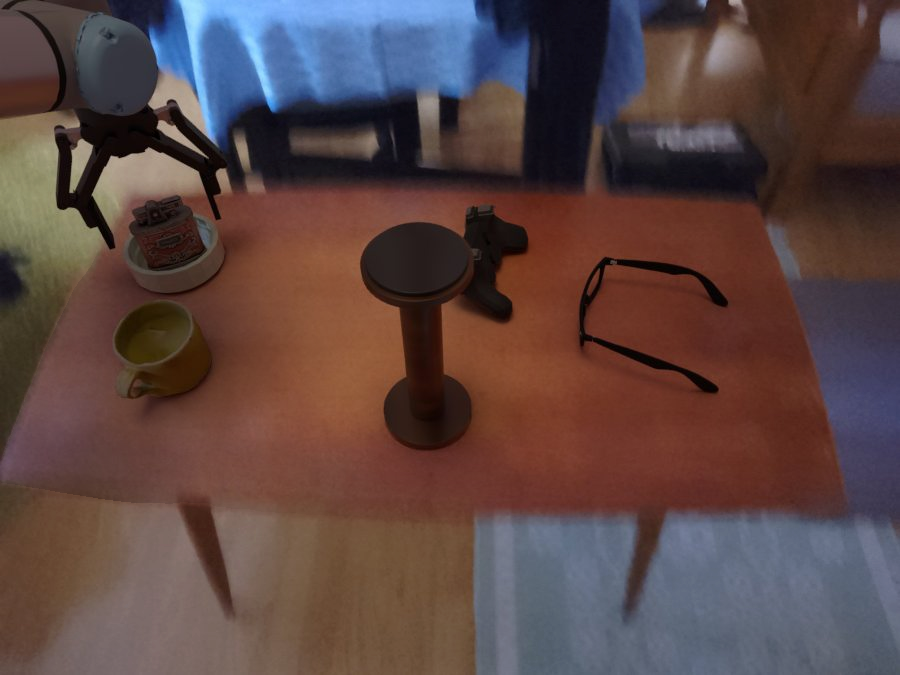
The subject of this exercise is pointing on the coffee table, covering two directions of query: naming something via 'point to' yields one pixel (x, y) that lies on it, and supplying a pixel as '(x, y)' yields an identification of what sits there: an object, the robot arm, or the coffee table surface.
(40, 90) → the robot arm
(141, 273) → the bowl
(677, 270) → the glasses
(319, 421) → the coffee table surface
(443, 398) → the stand
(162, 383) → the mug
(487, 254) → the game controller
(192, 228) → the lighter
